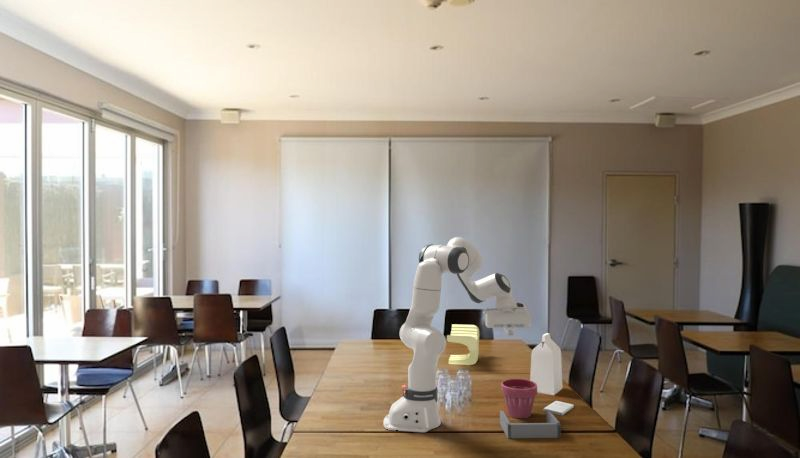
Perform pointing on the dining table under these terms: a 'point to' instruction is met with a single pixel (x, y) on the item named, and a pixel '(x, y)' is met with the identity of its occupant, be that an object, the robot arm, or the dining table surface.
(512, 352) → the dining table surface
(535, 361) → the milk
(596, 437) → the dining table surface
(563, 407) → the external hard drive
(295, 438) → the dining table surface
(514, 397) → the plant pot
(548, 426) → the frame
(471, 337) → the slatted curved stool
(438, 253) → the robot arm
